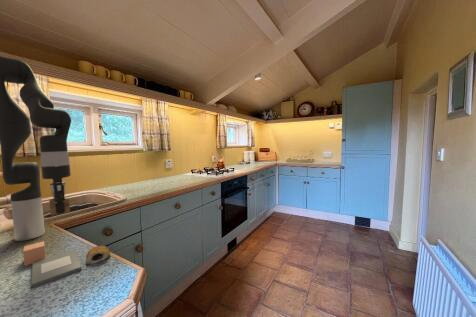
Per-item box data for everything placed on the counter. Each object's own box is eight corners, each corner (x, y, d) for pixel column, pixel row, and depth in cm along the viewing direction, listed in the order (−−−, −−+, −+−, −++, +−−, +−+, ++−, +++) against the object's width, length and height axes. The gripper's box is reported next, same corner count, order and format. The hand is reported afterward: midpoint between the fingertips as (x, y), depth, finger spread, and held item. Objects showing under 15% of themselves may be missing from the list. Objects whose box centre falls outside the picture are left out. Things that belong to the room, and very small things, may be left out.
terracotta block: (25, 260, 69) (24, 246, 69) (45, 254, 73) (44, 241, 73) (24, 265, 66) (23, 251, 65) (45, 259, 69) (44, 245, 69)
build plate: (33, 264, 66) (32, 261, 66) (75, 251, 74) (75, 248, 74) (31, 288, 55) (31, 284, 55) (81, 269, 63) (81, 266, 62)
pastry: (87, 254, 72) (87, 244, 72) (109, 248, 76) (109, 238, 76) (85, 266, 65) (84, 255, 64) (110, 259, 68) (109, 249, 68)
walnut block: (50, 212, 72) (49, 199, 71) (68, 209, 75) (67, 196, 75) (51, 215, 68) (49, 201, 68) (70, 212, 72) (68, 198, 71)
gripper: (40, 165, 73) (45, 210, 74) (41, 166, 63) (46, 218, 64) (67, 163, 78) (71, 205, 79) (71, 164, 68) (76, 212, 69)
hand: (60, 211), depth 72 cm, fingers closed on walnut block, 5 cm apart
